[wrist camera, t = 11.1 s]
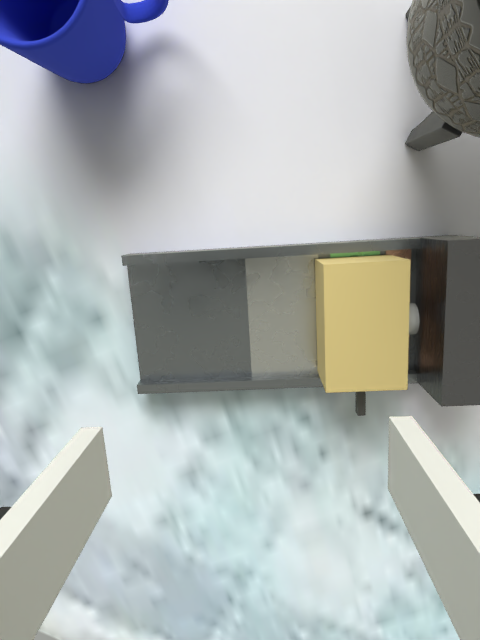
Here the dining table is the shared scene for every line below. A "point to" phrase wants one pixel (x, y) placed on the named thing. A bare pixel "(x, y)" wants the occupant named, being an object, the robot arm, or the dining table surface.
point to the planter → (445, 68)
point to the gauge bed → (238, 314)
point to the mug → (73, 33)
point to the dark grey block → (448, 319)
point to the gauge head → (364, 324)
